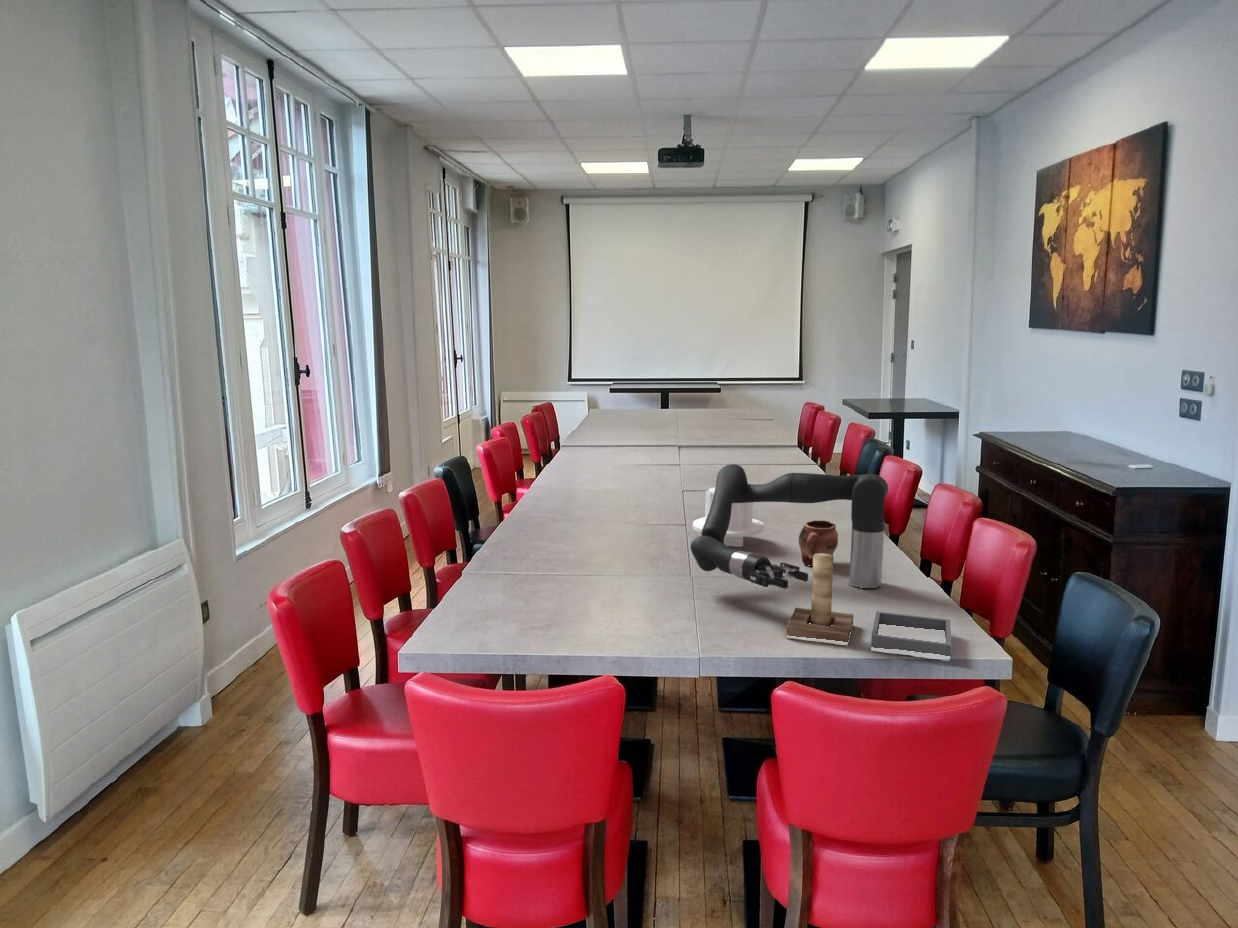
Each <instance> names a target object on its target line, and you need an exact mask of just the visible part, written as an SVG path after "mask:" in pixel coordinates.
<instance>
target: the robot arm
mask: <svg viewBox="0 0 1238 928" xmlns="http://www.w3.org/2000/svg"><path fill="white" fill-rule="evenodd" d="M748 482H749V481H748V478H747V473H746V471H745V469H744V468H743V467H742V466H741V465H739V464H735V463H733V464H727V465H725V466H722V467H721V468H720V469H719V471H718V472H717V475H716V481H715V486H714V487H715V492H714V496H713V500H712V504H711V507H710V511H709V514H708V516H707V519H706V521H705V524H704V526H703V529H702V533H701V536H698V537H695V538H694V539H692V541H691V543H690V551H691V553H692V556H693V558H694V560H695V562H696V563H697V565H698V567H699V568H700V569H701V570H702V571H704V572H712V571H714V570H716V569H718V570H720V571H721V572H723V573H726V574H730V575H731V576H734V577H737V578H740V579H741V580H745V581H748V582H750V583H752V584H756V585H757V586H761V587H765V588H768V587H769V586H770V587H775V586H776V587H777V588H781V589H785V590H787V589H788V588H789V581H788V579H795V580H798V581H802V582H804V583H805V582H808V581H809V574H808V572H804V571H801V570H800V569H801V568H800V566H797V565H794V564H790V563H786V562H780V565H779V564H774V563H773V564H772V563H771V561H770V559H769V558H767V556H763V555H760V554H756V553H753V552H749V551H745V550H744V551H743V550H739V549H736V548H733V547H727V546H726V545H725V544H724V538H725V535H726V533H727V530H728V527H729V523H730V518H731V508H732V503H750V502H753V503H793V504H817V503H825V502H832V501H838V500H840V501H841V500H845V501H851V508H850V509H851V513H850V517H851V542H850V543H851V545H850V563H849V564H850V565H849V579H848V580H849V581H848V583H849V582H850V584H852V585H854V586H857V587H862V588H875V587H879V586H880V585H881V586H882V579H883V578H882V577H883V576H882V575H883V563H884V562H883V558H884V540H885V523H886V522H885V516H884V515H885V499H886V497H887V495H888V493H889V485H888V483H887V481H886V480H885V479H884V478H883V477H882V476H880V475H878V474H875V473H864V474H863V473H862V474H853V475H834V474H825V473H810V472H809V473H808V472H788V473H787V472H786V473H785V474H782V475H781V476H778V477H777V478H775V479H772V480H771V481H769V482H767V483H762V484H752V483H751V484H750V483H748ZM850 584H849V585H850ZM852 585H851V586H852ZM854 586H853V587H854ZM857 587H856V588H857ZM862 588H861V589H862ZM879 588H880V587H879Z"/></svg>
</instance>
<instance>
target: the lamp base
mask: <svg viewBox="0 0 1238 928" xmlns="http://www.w3.org/2000/svg"><path fill="white" fill-rule="evenodd" d="M715 487H716V486H714V487H709V488H708V489H707V490H706V491H705V493H704V494H705V495H704V496H705V497H704V498H705V499H704V500H705V501H704V503H705V504H704V516H703V517H699V518H697V519H694V520H693V522H692V529H693V530H694V531H696V532H698V533H700V534H702V529H703V526H704V524H705V521H706V519H707V516H708V514H709V511H710V507H711V504H712V500H713V496H714V492H715ZM753 503H754V502H750V503H732V508H731V518H730V523H729V527H728V530H727V533H726V535H725V538H724V544H725V545H726V546H727V547H729V548H734V547H735V548H743V546H744V537H750V536H755V535H759V534H761V533H763V532H764V530H765V524H764V522H762V521H761V520H758V519H755V518H753V509H754V507H753V506H754V505H753Z"/></svg>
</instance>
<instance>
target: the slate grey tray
mask: <svg viewBox="0 0 1238 928" xmlns="http://www.w3.org/2000/svg"><path fill="white" fill-rule="evenodd" d="M879 624H886V625H896V626H905V627H914V628H924V629H935V630H944V631H945V638H946V643H939V642H931V641H923V640H915V639H907V638H898V637H890V636H882V635H877V634H878V629H879ZM872 626H873V627H872V632H871V641H870V642H871V643H870V648H871V647H874V648H884V649H899V650H907V651H915V652H922V653H933V654H940V655H945V656H951V657H952V633H951V631H952V630H951V629H952V627H951V619H949V618H940V617H930V616H923V615H921V616H920V615H913V614H912V615H911V614H903V613H897V612H896V613H895V612H894V613H893V612H886V611H877V610H876V611H875V615H874V621H873V625H872Z"/></svg>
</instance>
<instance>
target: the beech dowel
mask: <svg viewBox="0 0 1238 928" xmlns="http://www.w3.org/2000/svg"><path fill="white" fill-rule="evenodd" d="M833 561H834V555H833V556H832V555H830V554H822V553H820V554H814V555H813V567H812V572H811V574H812V576H811V577H812V579H811V601H810V602H811V605H810V608H811V624H816V625H824V626H831V612H832V607H833V606H832V605H833V578H834V577H833V576H834V562H833Z"/></svg>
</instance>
